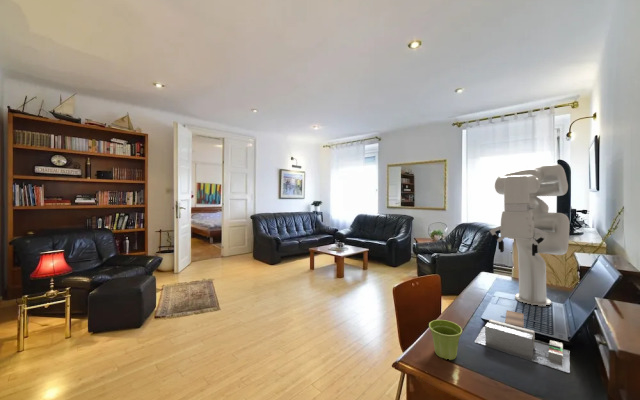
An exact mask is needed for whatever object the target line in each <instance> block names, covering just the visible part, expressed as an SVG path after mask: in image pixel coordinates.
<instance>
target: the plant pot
mask: <svg viewBox="0 0 640 400" xmlns="http://www.w3.org/2000/svg"><path fill="white" fill-rule="evenodd" d="M428 328H429V329H430V332H431V334H432V335H431V336H432V341H433V348H434V352H435V354H436V356H438V357H439V358H442V359H444V360H447V359H449V360H448V361H452V360H455V359H456V358H457V356H458V350H459V349H458V348H459V343H460V337H461V335H462V334H463V329H462V327H461V326H460V325H459V324H457V323H456V322H453V321H451V320H447V319H446V320H445V319H434V320H432V321H430V322H428Z"/></svg>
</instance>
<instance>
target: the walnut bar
mask: <svg viewBox="0 0 640 400" xmlns="http://www.w3.org/2000/svg"><path fill="white" fill-rule="evenodd" d="M505 312H506V313H505V321H504V323H506V324H510V325H514V326H518V327H521V328H525V327H524V324H525V322H524V320H525V319H524V316H525V314H524V313H523V312H518V311H512V310H506V311H505Z"/></svg>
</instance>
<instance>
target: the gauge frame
mask: <svg viewBox="0 0 640 400" xmlns="http://www.w3.org/2000/svg"><path fill="white" fill-rule="evenodd" d="M474 343H475V344H478V345H480V346H484V347H487V348H491V349H493V350H496V351H499V352H503V353H505V354H508V355H511V356H514V357H518V358H521V359H524V360H527V361H530V362H533V363H536V364H538V365H541V366H546V367H548V368H551V369H554V370H558V371H560V372H563V373H566V374H569V375H570V373H571V369H570V367H571V364H570V363H571V362H570V361H571V360H570V359H571V358H570V357H571V356H570V355H571V354H570V352H571V351H570V350H569V349H564V343H563V342H559V341H557V340H556V341H555V340H551V339H550V340H549V344H552V345H555V346H559V347H560V349H558V348H555V347H551V346H548V345H544V344H541V343H537V342H535V348H533V335H531V334H528V333H524V332H520V331H517V330H513V329H509V328H506V327H502V326H498V325H495V324H491V323H489V322H486V323H485V325H484V326H483V327H482V328H481V330H480V332H479V334H478V335H477V337H476V339H475V340H474Z"/></svg>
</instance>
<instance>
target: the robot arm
mask: <svg viewBox="0 0 640 400" xmlns="http://www.w3.org/2000/svg"><path fill="white" fill-rule="evenodd" d="M565 171H566V170H565V169H564V167H563V166H562V165H561V164H559V163H546V164H544V163H543V164H534V165H528V166H527V167H525V168H523V169H519V170H516V171H513V172H512V171H511V172H507V173H504V174H501V175H499V176H498V177H497V178H496V180H495V183H494V190H495V192H496V193H497V194H498V195H503V197H504V198H503V200H504V203H503V204H504V205H503V207H504V208H503V209H504V211H502V212H501V218H500V226H497V227H495V228H491V229H490V230H489V233H490V234H491V236H492V237H493V238H494V239H495V241H497V243H498V247H497V248H498V250H500V253H504V251H505V246H504V244H505V241H504V239H505V238H507V239H515V244H516V249H517V258H518V261H517V262H518V293H516V294H515V295H514V299H515V300H517V302H520V303H522V302H523V303H522V304H525V303H527V304H526V305H528V304H531V305H530V306H533V305H538V306H537V307H547V306H546V305H550V304H551V305H552V301H551V300H550V299H549V298H548V297H547V264H546V260H545V259H544V258H543V257H542V256H541V254H545V255H554V256H555V255H556V256H562V255H565V254H567V252H568V250H569V243H570V242H569V239H570V230H571V229H570V225H571V224H570V219H569V217H568V216H567V215H566V214H565V213H562V212H549V210H550V209H549V208H550V207H549V205H548V204H547V203H546V202H545V201H544V200H543V199H541V198H540V197H560V196H564V195H566V194H567V192H568V190H569V184H568V180H567V179H568V178H567V174H566V172H565ZM497 231H500V236H499V235H498V234H497V233H496V232H497ZM542 305H543V306H542ZM551 305H550V306H551Z"/></svg>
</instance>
